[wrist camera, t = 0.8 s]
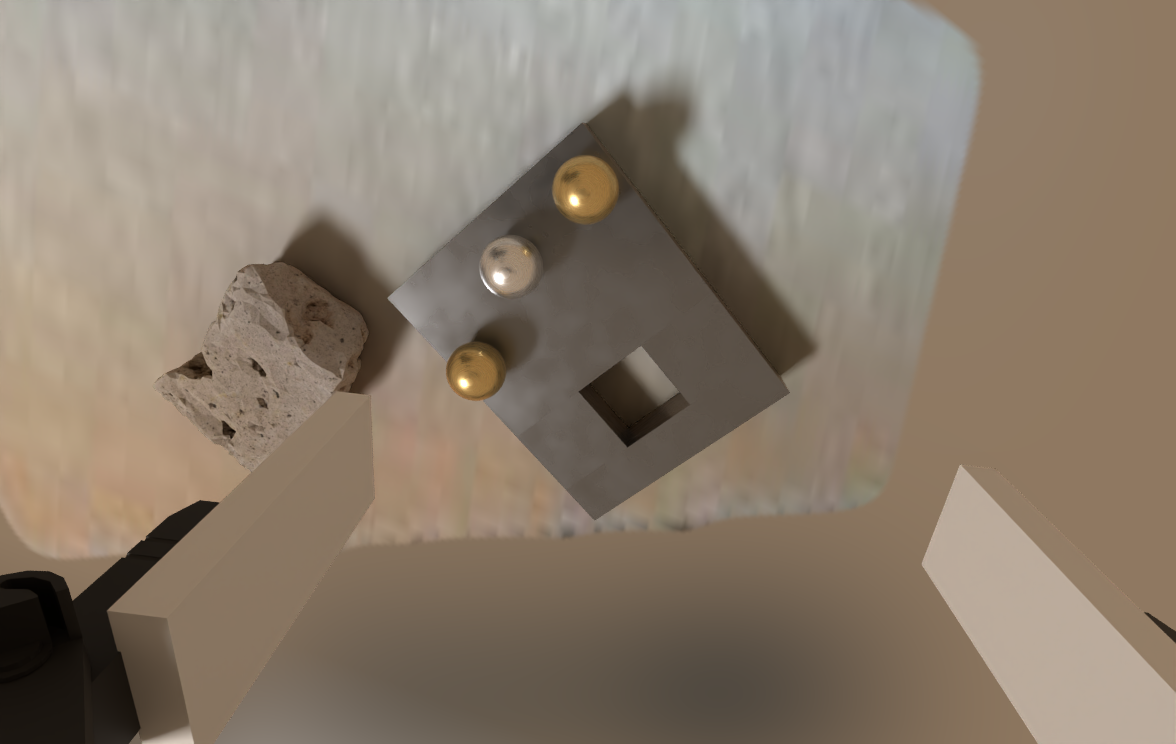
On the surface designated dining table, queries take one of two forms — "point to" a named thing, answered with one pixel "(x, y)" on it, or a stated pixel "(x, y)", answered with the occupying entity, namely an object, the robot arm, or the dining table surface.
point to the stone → (267, 361)
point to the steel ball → (511, 266)
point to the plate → (594, 334)
